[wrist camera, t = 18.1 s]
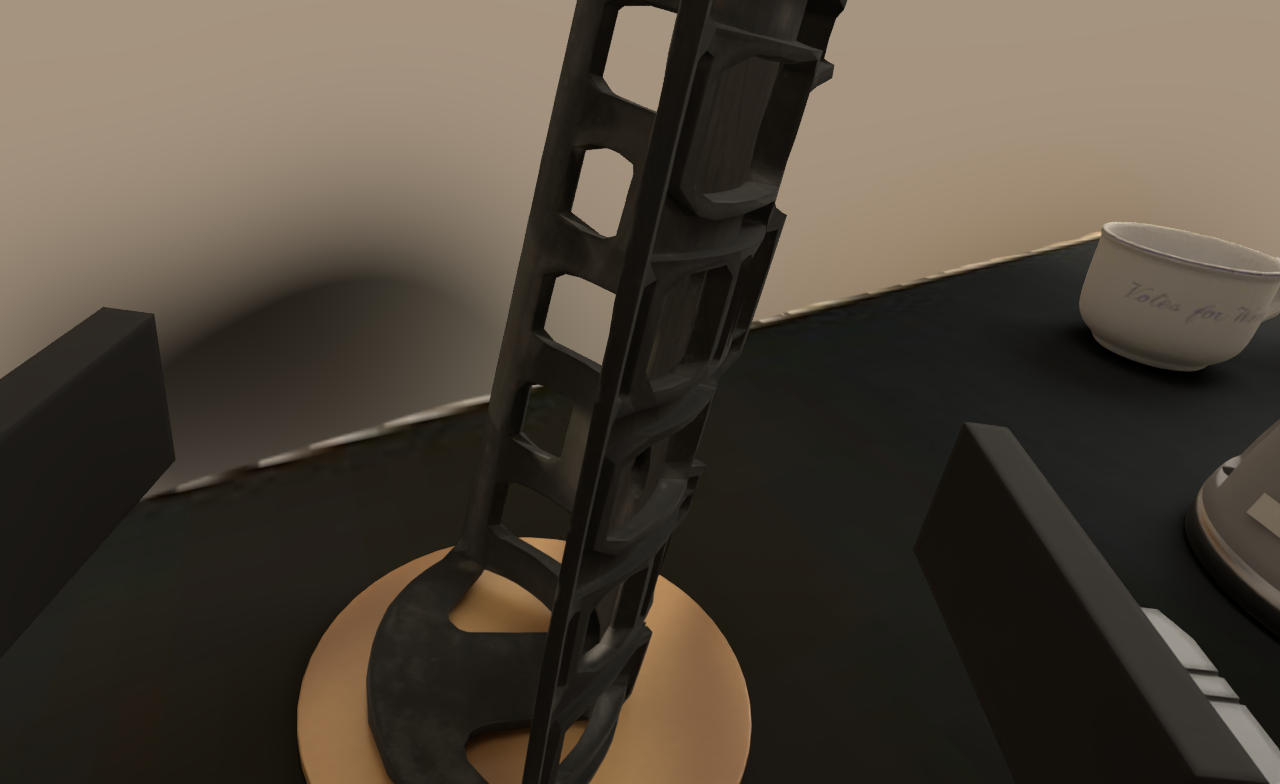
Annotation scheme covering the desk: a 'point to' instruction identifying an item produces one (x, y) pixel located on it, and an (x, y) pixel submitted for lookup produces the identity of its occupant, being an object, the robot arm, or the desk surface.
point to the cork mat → (628, 776)
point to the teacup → (1176, 295)
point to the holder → (606, 388)
